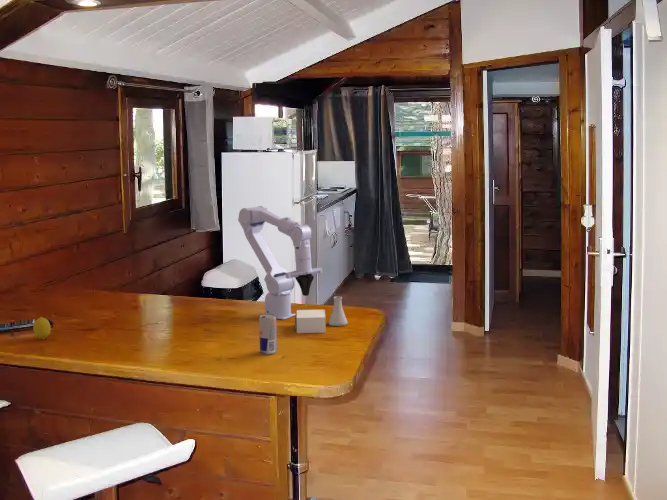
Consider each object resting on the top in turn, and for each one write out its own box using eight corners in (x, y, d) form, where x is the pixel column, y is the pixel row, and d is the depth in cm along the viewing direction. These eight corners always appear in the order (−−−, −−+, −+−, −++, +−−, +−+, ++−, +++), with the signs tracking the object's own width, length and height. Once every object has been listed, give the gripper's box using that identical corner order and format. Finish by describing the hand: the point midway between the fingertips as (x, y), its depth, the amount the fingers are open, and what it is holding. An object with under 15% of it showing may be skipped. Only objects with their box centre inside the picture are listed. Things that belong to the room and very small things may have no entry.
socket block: (295, 333, 261) (295, 317, 260) (296, 324, 272) (295, 310, 271) (325, 332, 262) (325, 317, 261) (324, 324, 273) (324, 309, 272)
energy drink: (260, 350, 243) (259, 314, 240) (276, 349, 243) (275, 313, 241) (259, 355, 237) (258, 318, 235) (277, 354, 238) (276, 317, 236)
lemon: (54, 338, 260) (53, 315, 258) (43, 342, 255) (42, 319, 253) (41, 336, 261) (39, 314, 260) (30, 341, 256) (28, 318, 255)
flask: (347, 327, 269) (347, 299, 267) (327, 326, 269) (326, 299, 268) (348, 321, 276) (348, 295, 274) (329, 321, 276) (328, 294, 275)
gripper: (291, 262, 266) (294, 299, 267) (325, 256, 274) (328, 293, 275) (281, 260, 272) (284, 297, 273) (315, 255, 279) (318, 291, 281)
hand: (305, 295), depth 275 cm, fingers closed
